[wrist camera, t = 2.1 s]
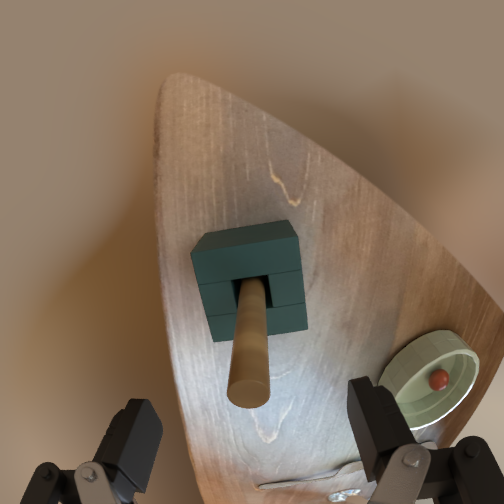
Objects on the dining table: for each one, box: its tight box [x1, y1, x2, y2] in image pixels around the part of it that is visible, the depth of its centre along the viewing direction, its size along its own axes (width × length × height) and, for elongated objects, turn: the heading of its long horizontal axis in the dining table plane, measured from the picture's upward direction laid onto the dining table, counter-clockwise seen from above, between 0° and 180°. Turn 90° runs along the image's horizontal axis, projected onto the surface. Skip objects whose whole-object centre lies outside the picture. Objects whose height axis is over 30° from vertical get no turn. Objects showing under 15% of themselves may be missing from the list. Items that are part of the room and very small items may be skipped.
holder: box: [190, 220, 308, 342], centre depth 23 cm, size 7×7×6 cm
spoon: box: [259, 461, 364, 489], centre depth 36 cm, size 4×21×2 cm, turn 113°
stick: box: [227, 275, 270, 409], centre depth 18 cm, size 2×2×16 cm
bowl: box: [378, 330, 479, 430], centre depth 28 cm, size 13×13×5 cm
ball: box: [428, 369, 449, 391], centre depth 28 cm, size 3×3×3 cm
